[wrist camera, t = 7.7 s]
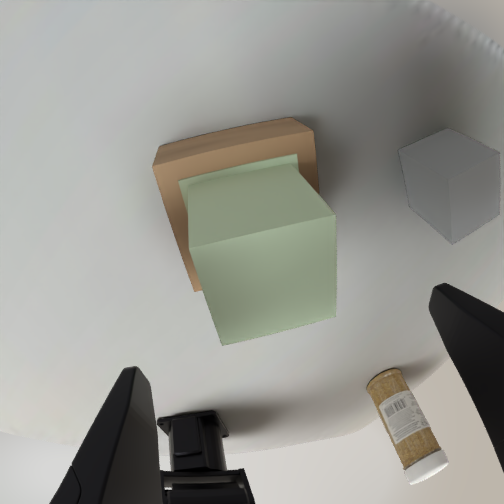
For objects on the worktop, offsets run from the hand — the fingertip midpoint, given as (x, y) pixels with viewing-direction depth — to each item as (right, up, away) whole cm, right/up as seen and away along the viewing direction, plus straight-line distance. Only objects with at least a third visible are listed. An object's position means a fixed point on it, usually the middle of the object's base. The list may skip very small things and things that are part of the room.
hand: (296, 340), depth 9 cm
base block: (-2, +6, +9) cm, 11 cm away
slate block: (+11, +8, +10) cm, 17 cm away
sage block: (-1, +4, +6) cm, 8 cm away
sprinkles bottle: (+14, -12, +25) cm, 31 cm away
